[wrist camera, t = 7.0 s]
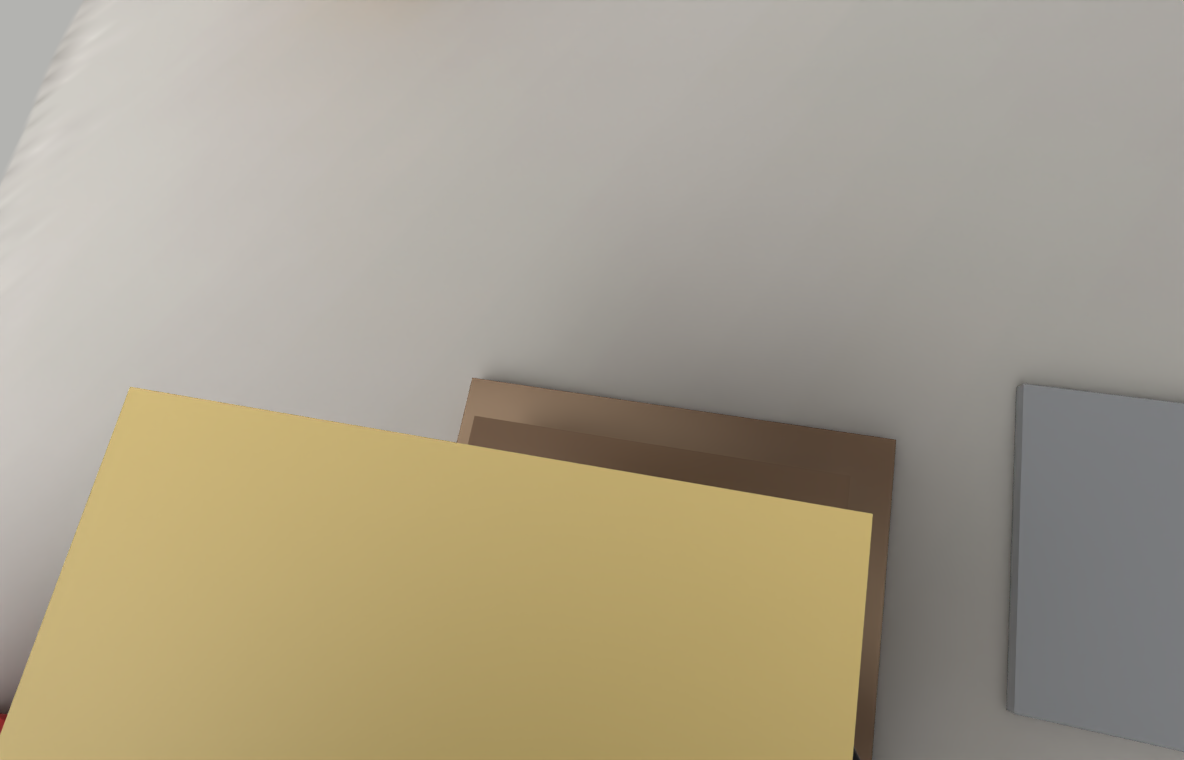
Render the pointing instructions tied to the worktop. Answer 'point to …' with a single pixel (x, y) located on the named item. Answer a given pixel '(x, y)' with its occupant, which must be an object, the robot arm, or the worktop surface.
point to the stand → (1098, 564)
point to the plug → (432, 605)
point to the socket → (707, 469)
